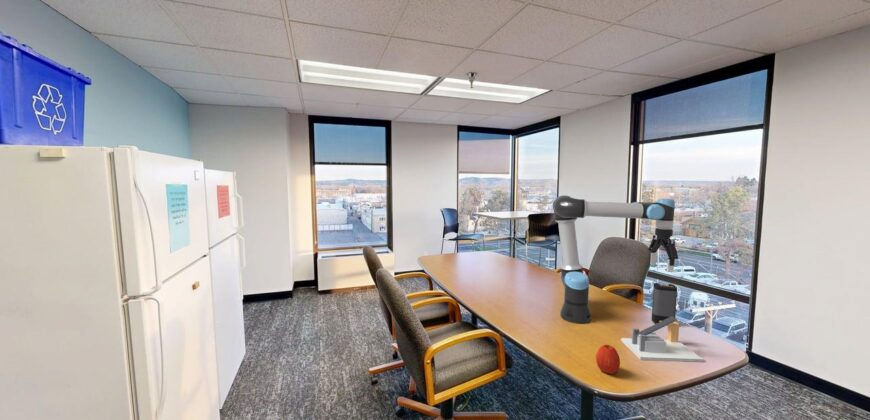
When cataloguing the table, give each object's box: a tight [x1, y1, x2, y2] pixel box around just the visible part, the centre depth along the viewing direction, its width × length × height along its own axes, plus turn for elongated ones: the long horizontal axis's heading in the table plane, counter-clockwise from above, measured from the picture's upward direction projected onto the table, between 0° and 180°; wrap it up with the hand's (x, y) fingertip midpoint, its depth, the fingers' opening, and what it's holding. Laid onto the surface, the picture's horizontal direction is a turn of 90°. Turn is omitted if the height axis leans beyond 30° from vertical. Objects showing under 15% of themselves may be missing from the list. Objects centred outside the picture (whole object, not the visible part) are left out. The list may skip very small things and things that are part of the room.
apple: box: [595, 344, 621, 375], centre depth 124 cm, size 8×8×11 cm
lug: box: [660, 321, 680, 342], centre depth 145 cm, size 6×3×8 cm, turn 86°
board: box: [620, 327, 704, 363], centre depth 139 cm, size 24×16×8 cm, turn 86°
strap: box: [635, 316, 678, 337], centre depth 138 cm, size 17×4×1 cm, turn 85°
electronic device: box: [651, 282, 678, 325], centre depth 165 cm, size 9×6×20 cm, turn 71°
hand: (661, 268), depth 172 cm, fingers open, 13 cm apart
